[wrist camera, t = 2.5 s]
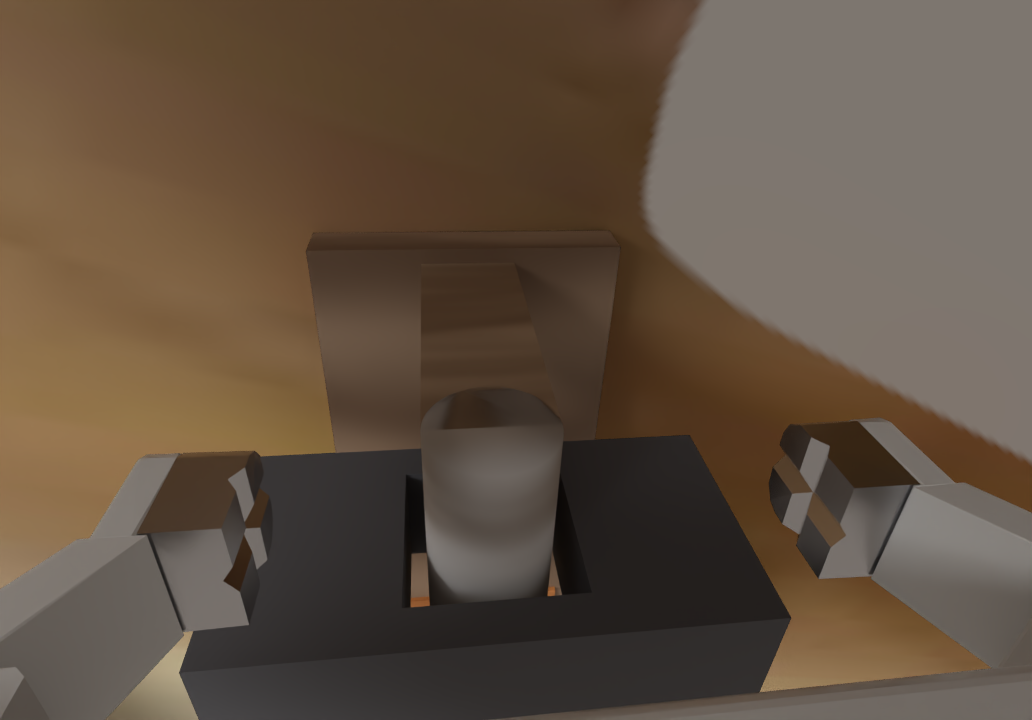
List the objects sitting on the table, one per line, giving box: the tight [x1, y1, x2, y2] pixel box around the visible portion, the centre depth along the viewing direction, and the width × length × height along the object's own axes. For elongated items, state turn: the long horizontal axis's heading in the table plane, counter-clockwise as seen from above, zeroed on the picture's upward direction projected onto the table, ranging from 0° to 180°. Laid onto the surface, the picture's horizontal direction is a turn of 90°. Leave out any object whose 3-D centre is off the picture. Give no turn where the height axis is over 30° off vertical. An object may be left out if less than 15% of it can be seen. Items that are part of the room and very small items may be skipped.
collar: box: [179, 435, 791, 720], centre depth 16 cm, size 3×12×6 cm, turn 88°
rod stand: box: [306, 231, 621, 607], centre depth 23 cm, size 25×10×12 cm, turn 178°
